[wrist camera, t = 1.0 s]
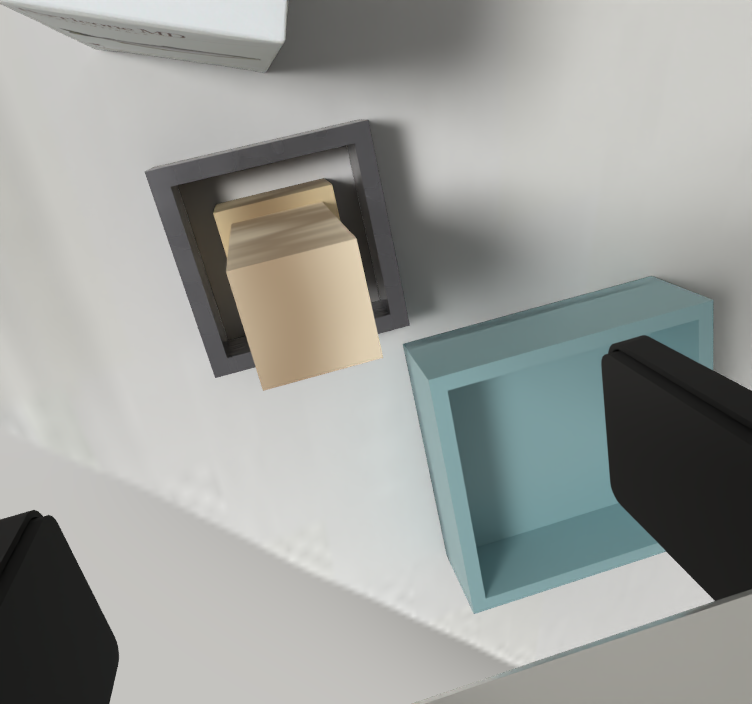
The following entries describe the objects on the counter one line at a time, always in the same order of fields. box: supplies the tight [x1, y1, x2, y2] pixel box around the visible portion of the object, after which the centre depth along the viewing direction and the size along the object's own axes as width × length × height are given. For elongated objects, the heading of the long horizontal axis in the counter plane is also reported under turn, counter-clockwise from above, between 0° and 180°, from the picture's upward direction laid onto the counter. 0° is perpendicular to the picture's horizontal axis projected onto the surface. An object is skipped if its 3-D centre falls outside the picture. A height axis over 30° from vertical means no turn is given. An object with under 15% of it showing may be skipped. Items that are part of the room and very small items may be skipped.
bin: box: [403, 276, 713, 614], centre depth 35 cm, size 15×15×5 cm
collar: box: [145, 120, 409, 378], centre depth 29 cm, size 10×10×2 cm
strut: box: [213, 178, 383, 391], centre depth 25 cm, size 5×5×12 cm
